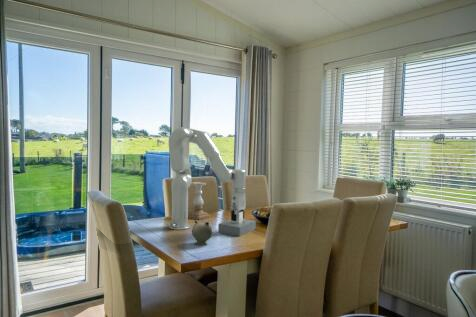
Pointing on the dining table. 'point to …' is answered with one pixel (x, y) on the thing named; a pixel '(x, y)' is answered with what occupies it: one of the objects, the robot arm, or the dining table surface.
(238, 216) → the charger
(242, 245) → the dining table surface
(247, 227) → the grey flat block
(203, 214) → the candle holder
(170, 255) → the dining table surface
